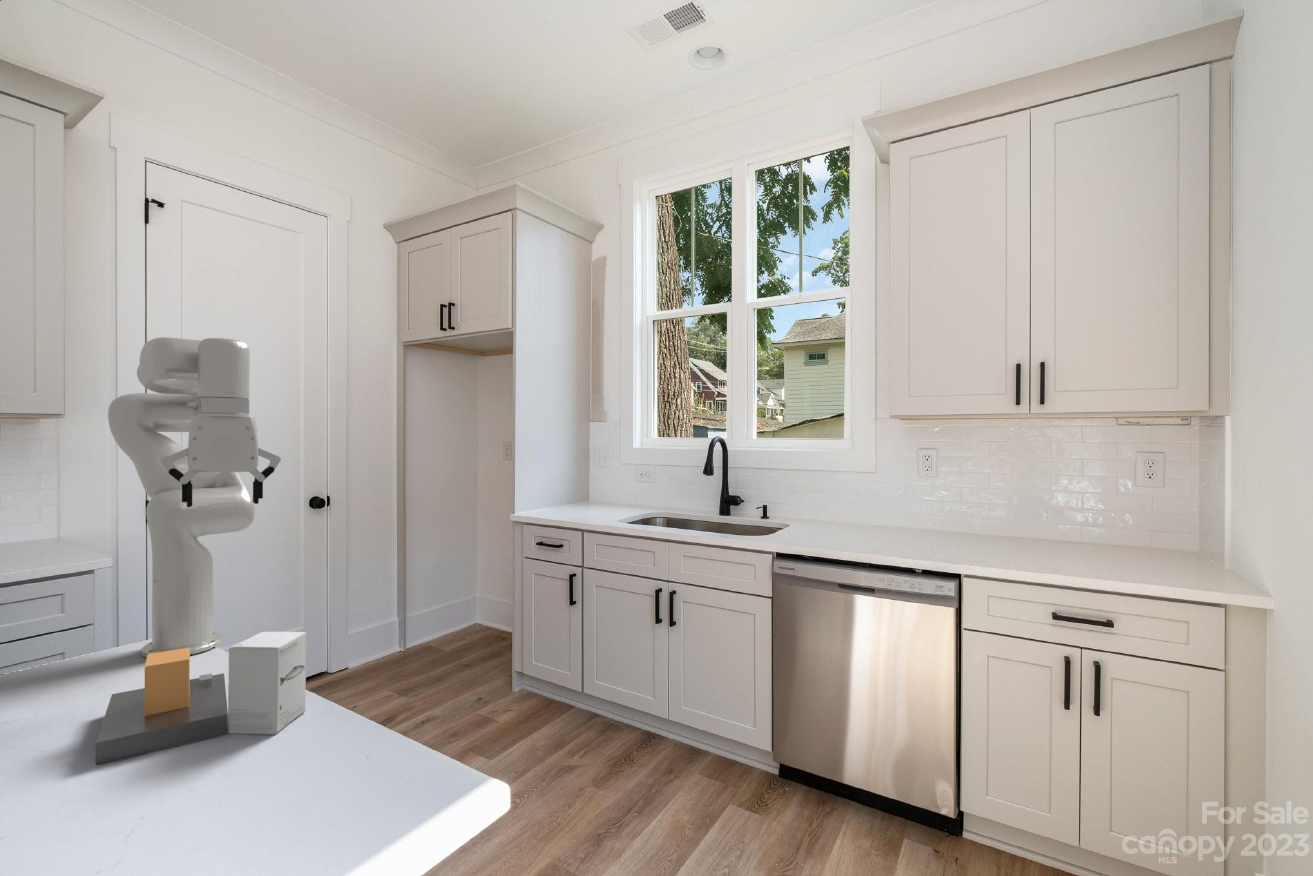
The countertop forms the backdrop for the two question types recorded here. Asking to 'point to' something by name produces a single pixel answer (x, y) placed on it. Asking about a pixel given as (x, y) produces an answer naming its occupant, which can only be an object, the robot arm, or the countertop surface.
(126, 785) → the countertop surface
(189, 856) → the countertop surface
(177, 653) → the orange block
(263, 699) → the supplement box
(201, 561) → the robot arm
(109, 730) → the dark gray rectangular board
